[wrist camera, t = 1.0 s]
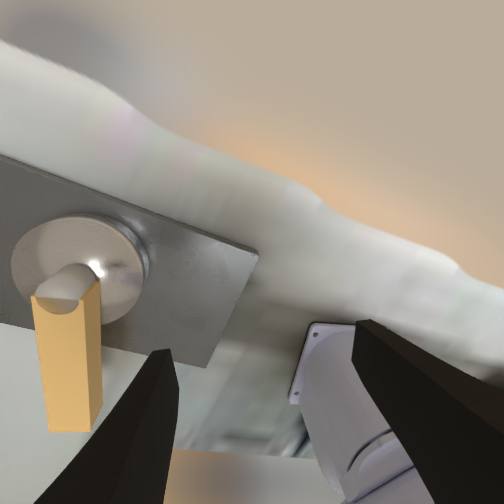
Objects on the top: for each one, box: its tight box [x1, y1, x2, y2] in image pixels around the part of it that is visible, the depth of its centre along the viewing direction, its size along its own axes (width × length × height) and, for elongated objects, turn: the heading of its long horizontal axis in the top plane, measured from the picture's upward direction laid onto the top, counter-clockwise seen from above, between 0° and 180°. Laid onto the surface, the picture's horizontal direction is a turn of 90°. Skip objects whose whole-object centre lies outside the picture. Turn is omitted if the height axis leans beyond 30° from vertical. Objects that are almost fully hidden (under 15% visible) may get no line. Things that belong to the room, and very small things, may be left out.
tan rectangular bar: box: [31, 264, 103, 432], centre depth 15 cm, size 11×2×2 cm, turn 170°
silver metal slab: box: [0, 155, 259, 368], centre depth 17 cm, size 20×11×3 cm, turn 66°
